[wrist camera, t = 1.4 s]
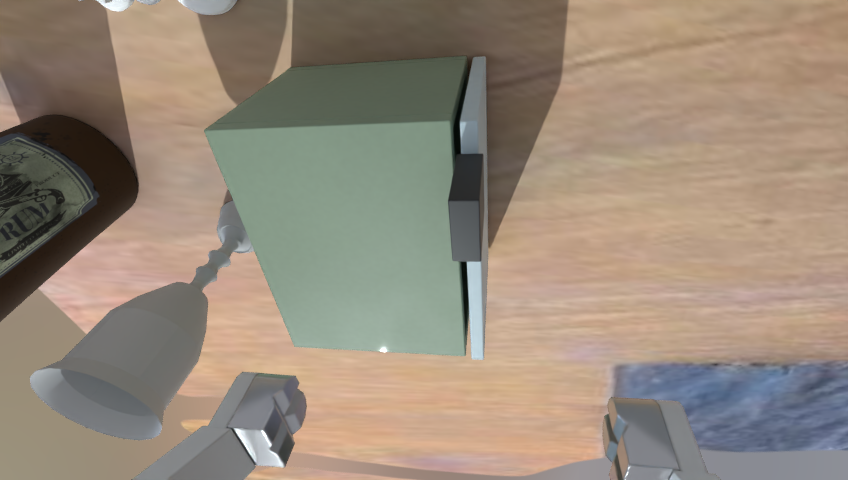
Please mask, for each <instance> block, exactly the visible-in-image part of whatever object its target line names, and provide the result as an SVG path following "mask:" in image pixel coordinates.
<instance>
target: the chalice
mask: <svg viewBox="0 0 848 480" xmlns="http://www.w3.org/2000/svg"><path fill="white" fill-rule="evenodd" d="M217 232H218V236H219V239H220V241H221V242H222V244H223V245H222V247H221V248H219V249H218V250H212V251H210V252H209V254H208V256H209V262H208V263H207V264H206V265H204V266H200V267H198V268H197V269H196V276H195V278H194V280H193V281H192V282H191V283H190V284H187V283H183V282H176V283H172V284H170V285H167V286H164V287H162V288H159V289H156V290H154V291H151V292H148V293H146V294H143V295H140V296H138V297H136V298H134V299H132V300H130V301H128V302H126V303H124V304H122V305H120V306H118V307H116V308H114V309H113V310H111V311H110V312H109V313H108V314H107V315H106V316H105V317H104V318H103V319H102V320H101V321H100V322H99V323H98V324H97V325H96V326H95V327H94V328H93V329H92V330H91V331H90V332H89V333H88V334H87V335H86V336H85V337H84V338H83V339H82V340H81V341H80V342H79V343H78V344H77V345H76V346H75V347H74V348H73V349H72V350H71V351H70V352H69V353H68V354H67V355H66V356H65V357H64V358H63V359H62V360H61V361H58V362H56V363H53V364H51V365H49V366H46V367H44V368H42V369H39V370H37V371H35V372H34V374H33V375H32V376H31V377H30V382H31V387H32V389H33V390H34V391H35V392H36V394H37V395H38V397H39V398H40V399H41V400H42V401H44V402H45V403H46V404H47V405H48V406H50V407H51V408H52V409H53V410H55V411H57V412H58V413H60V414H62V415H63V416H65V417H66V418H68V419H70V420H72V421H74V422H76V423H78V424H80V425H82V426H85V427H86V428H89V429H92V430H95V431H97V432H100V433H103V434H106V435H110V436H114V437H119V438H123V439H133V440H145V439H152V438H154V437H156V436H157V435H159V434H160V432H161V428H162V422H163V413H164V410H165V409H166V407H167V406H168V405H169V403H170V402H171V400H172V399H173V397H174V396H175V394H176V393H177V391H178V390H179V388H180V387H181V386H182V384H183V383H184V381H185V380H186V378H187V377H188V375H189V374H190V372H191V371H192V369H193V368H194V366H195V365H196V364H197V362H198V359H199V356H200V353H201V349H202V345H203V341H204V337H205V333H206V324H207V311H208V300H207V298H206V296H205V294H204V293H203V292H202V290H203V288H204V287H205V286H207V285H208V284H209V283H210V282H214V281H216V280H217V272H218V270H219V269H220V268H222V267H227V266H229V265H230V263H231V262H230V259H229V258H230V256H231V253H232V252H237V253H250V252H253V251H254V249H253V246H252V244H251V242H250V239H249V237H248V234H247V232H246V230H245V227H244V225H243V223H242V220H241V218H240V215H239V213H238V211H237V208H236V206H235V203H234V201H230V202H228V203H226V204H225V205H224V206H223V207H222V208H221V212H220V217H219V221H218V227H217Z"/></svg>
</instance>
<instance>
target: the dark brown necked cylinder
mask: <svg viewBox="0 0 848 480" xmlns="http://www.w3.org/2000/svg"><path fill="white" fill-rule="evenodd" d="M137 192H138V189H137V182H136V178H135V175H134V173H133V170H132V168H131V166H130V165H129V163H128V161H127V160H126V158H125V157H124V156H123V154H122V153H121V152H120V151H119V150H118V148H117V147H116V146H115V145H114V144H113V143H112V142H111V141H109V140H108V139H107V138H106V137H105V136H103V135H102V134H101V133H99V132H98V131H96V130H95V129H93V128H92V127H90V126H88V125H86V124H84V123H82V122H80V121H78V120H75V119H72V118H69V117H65V116H60V115H47V116H42V117H38V118H36V119H33V120H30V121H28V122H25V123H23V124H20V125H18V126H15V127H13V128H10V129H8V130H5V131H3V132H0V322H1V321H2V320H3V319H4V318H5V317H6V316H7V315H8V314H9V313H11V312H12V311H13V310H14V309H15V308H16V307H17V306H18V305H19V304H21V303H22V302H23V301H24V300H25V299H26V298H27V297H28V296H30V295H31V294H32V293H33V292H34V291H35V290H36V289H37V288H38V287H40V286H41V285H42V284H43V283H44V282H45V281H46V280H47V279H49V278H50V277H51V276H52V275H53V274H54V273H55V272H57V271H58V270H59V269H60V268H61V267H62V266H63V265H65V264H66V263H67V262H68V261H69V260H70V259H71V258H72V257H74V256H75V255H76V254H77V253H78V252H79V251H80V250H82V249H83V248H84V247H85V246H86V245H87V244H88V243H90V242H91V241H92V240H93V239H94V238H95V237H97V236H98V235H99V234H100V233H101V232H103V231H104V230H105V229H106V228H107V227H109V226H110V225H111V224H112V223H113V222H114V221H116V220H117V219H118V218H119V217H120V216H122V215H123V214H124V213H125V212H126V211H127V210H129V209H130V208H131V207H132V205H133V204H134V203H135V201H136V198H137Z"/></svg>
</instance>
